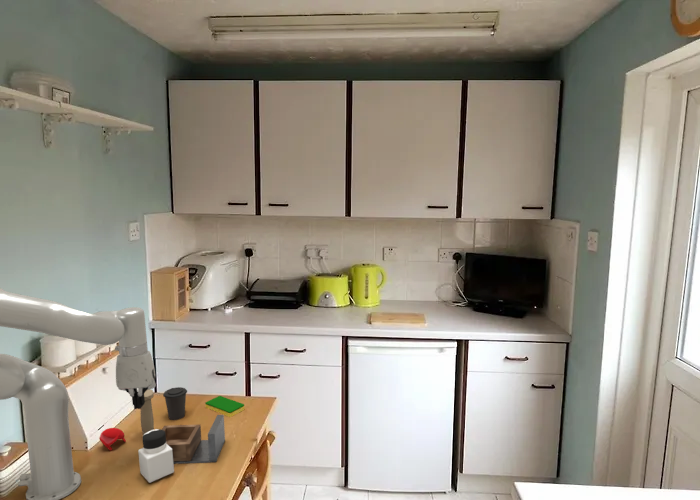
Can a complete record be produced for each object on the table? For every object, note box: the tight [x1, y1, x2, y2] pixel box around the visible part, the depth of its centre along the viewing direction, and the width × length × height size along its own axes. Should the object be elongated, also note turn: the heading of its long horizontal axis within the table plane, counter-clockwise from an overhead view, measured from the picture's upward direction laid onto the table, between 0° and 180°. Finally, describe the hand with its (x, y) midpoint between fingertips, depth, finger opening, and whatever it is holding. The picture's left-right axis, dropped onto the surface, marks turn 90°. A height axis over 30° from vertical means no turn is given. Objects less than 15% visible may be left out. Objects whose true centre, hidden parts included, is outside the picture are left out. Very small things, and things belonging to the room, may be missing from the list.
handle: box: [139, 389, 155, 436], centre depth 149 cm, size 5×6×15 cm
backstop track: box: [173, 414, 226, 465], centre depth 140 cm, size 21×12×9 cm, turn 92°
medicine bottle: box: [137, 428, 175, 483], centre depth 129 cm, size 7×7×12 cm
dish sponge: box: [204, 395, 245, 418], centre depth 169 cm, size 7×14×2 cm, turn 56°
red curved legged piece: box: [98, 427, 127, 451], centre depth 144 cm, size 8×6×6 cm
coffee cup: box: [162, 386, 188, 421], centre depth 163 cm, size 8×8×10 cm
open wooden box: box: [161, 424, 202, 461], centre depth 140 cm, size 11×11×5 cm
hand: (139, 406), depth 138 cm, fingers closed
